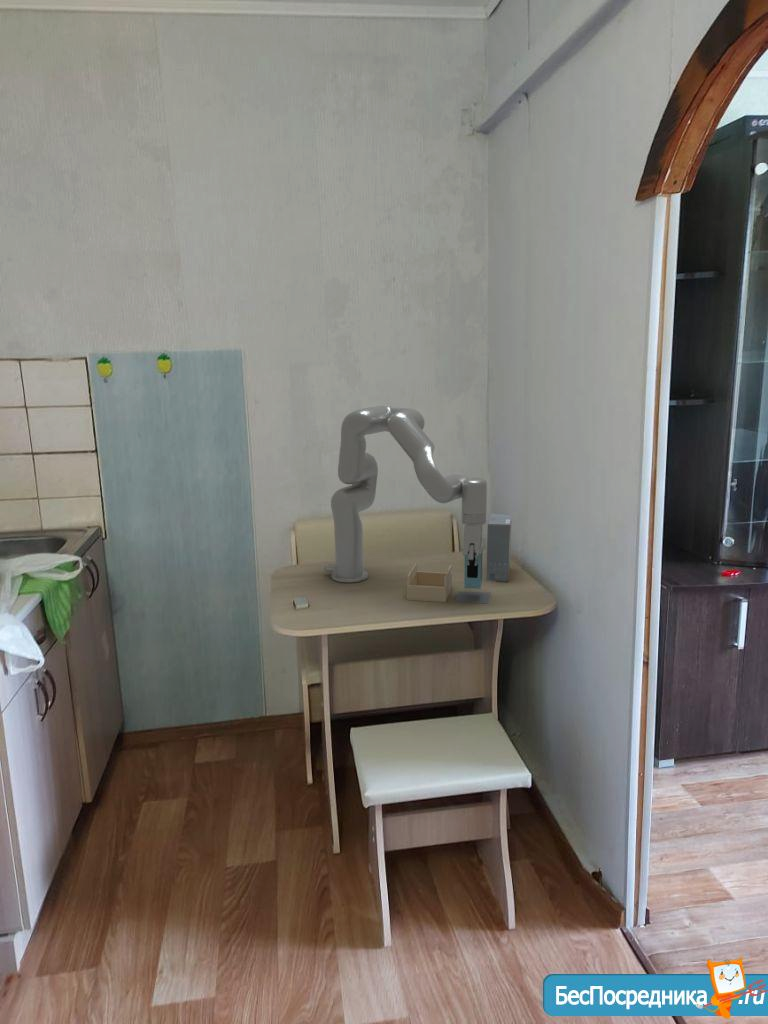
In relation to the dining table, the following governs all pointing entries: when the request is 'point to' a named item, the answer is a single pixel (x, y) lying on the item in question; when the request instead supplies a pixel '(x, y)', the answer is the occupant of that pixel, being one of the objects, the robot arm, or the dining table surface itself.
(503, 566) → the hard drive box
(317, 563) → the dining table surface
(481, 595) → the mat
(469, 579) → the tin
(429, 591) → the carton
